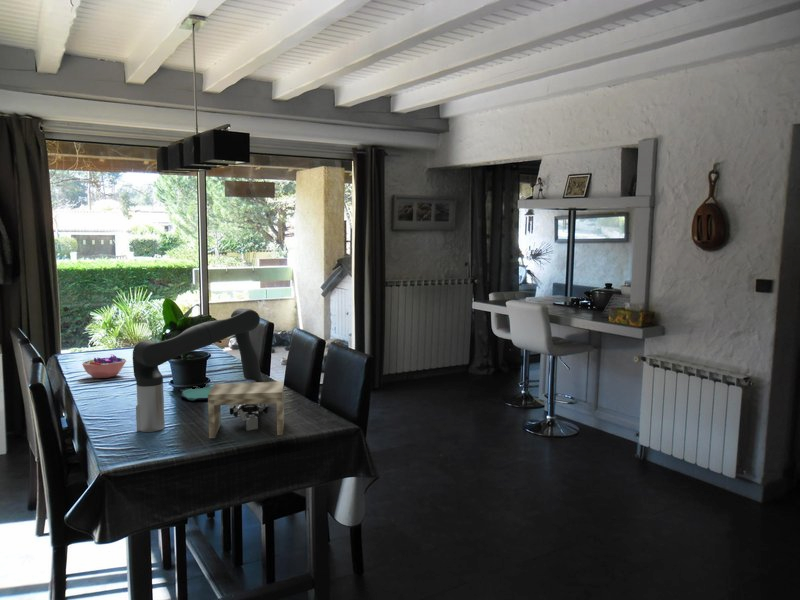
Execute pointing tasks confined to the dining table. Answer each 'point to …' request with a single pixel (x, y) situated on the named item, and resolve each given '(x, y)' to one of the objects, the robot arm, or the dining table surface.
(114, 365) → the cell model
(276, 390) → the small wooden stool
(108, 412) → the dining table surface
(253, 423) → the lighter
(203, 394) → the teal flat tray
